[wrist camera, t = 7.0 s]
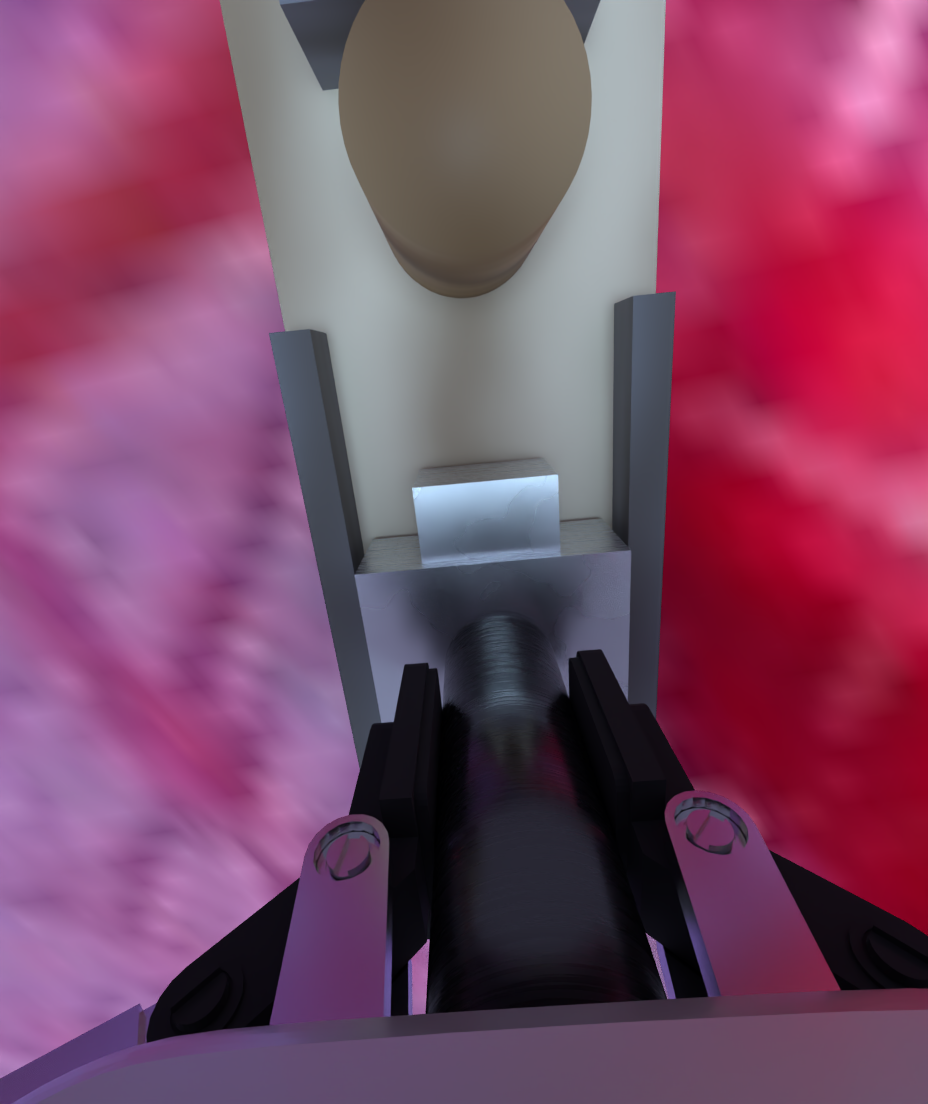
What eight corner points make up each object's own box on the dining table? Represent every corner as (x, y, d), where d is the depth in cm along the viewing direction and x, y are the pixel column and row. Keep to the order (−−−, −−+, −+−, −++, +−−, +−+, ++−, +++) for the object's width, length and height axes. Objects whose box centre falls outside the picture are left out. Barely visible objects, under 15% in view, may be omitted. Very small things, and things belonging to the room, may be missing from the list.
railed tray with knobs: (637, -19, 13) (777, -324, 7) (623, 762, 21) (680, 904, 16) (249, 28, 13) (87, -231, 7) (388, 780, 22) (363, 926, 16)
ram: (602, 452, 15) (1050, 724, 3) (601, 685, 17) (851, 1253, 6) (362, 475, 15) (62, 800, 4) (399, 702, 17) (292, 1281, 6)
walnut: (523, 92, 12) (569, -96, 7) (553, 276, 13) (608, 220, 8) (361, 137, 12) (302, -16, 7) (405, 314, 13) (379, 280, 9)
